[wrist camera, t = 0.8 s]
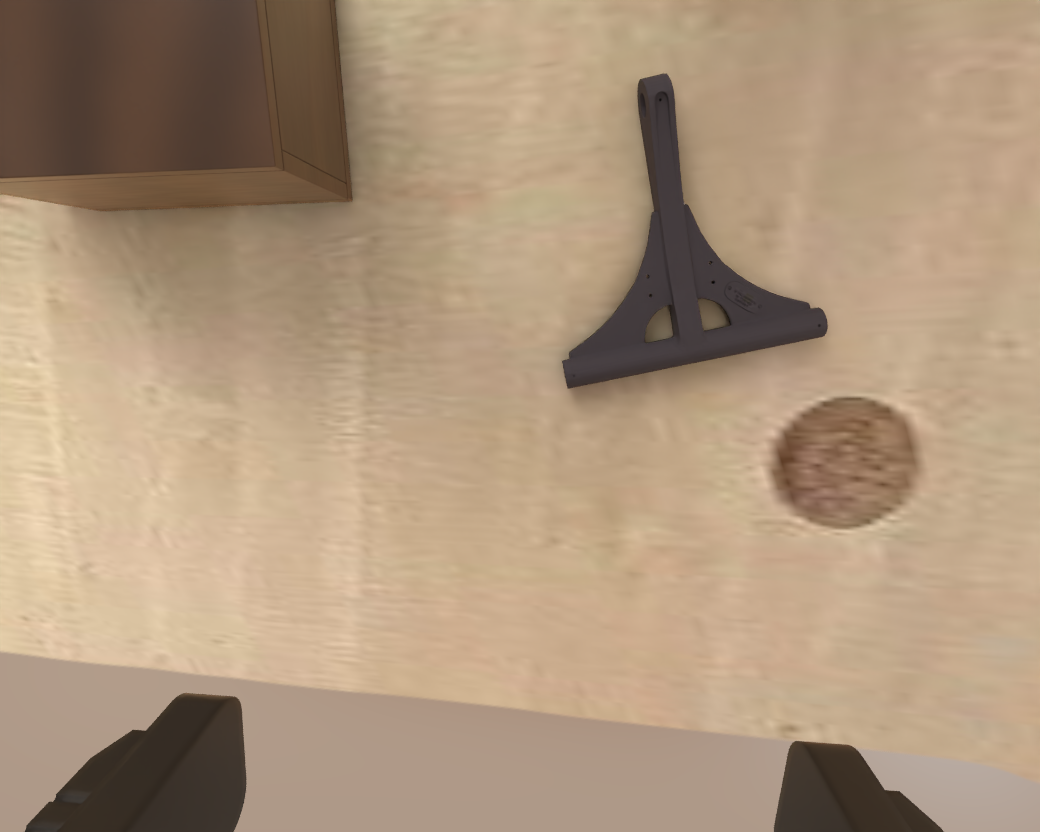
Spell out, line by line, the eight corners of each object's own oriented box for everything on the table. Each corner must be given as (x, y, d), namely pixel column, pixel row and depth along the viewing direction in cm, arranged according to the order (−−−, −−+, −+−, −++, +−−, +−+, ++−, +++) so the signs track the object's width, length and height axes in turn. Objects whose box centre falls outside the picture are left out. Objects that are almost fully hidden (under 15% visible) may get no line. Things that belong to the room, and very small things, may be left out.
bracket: (785, 53, 30) (809, 29, 27) (815, 335, 33) (839, 339, 30) (513, 119, 31) (510, 103, 29) (566, 385, 34) (568, 394, 32)
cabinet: (100, 211, 33) (-74, 181, 24) (59, -20, 31) (-154, -155, 21) (352, 201, 32) (275, 166, 23) (331, -36, 30) (235, -183, 21)
